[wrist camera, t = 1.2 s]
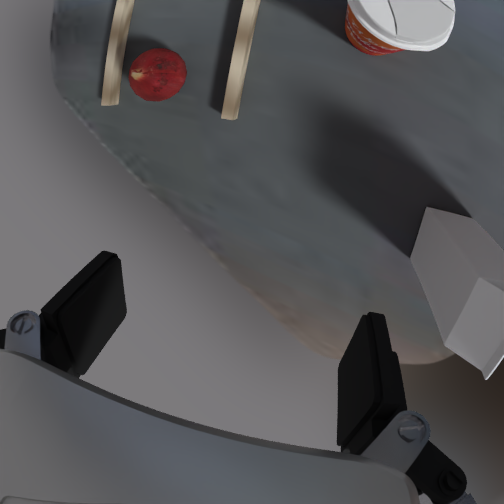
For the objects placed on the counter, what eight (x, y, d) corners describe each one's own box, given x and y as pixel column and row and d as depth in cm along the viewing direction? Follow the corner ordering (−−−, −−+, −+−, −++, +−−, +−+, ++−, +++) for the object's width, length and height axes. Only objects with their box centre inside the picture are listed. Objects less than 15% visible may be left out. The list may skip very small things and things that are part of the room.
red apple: (191, 44, 28) (157, 35, 21) (201, 91, 30) (170, 93, 24) (145, 61, 29) (105, 58, 23) (156, 105, 32) (117, 112, 25)
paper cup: (319, 17, 24) (321, -32, 12) (379, -10, 21) (414, -64, 9) (362, 78, 27) (395, 67, 15) (420, 50, 24) (482, 31, 12)
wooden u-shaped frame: (139, -48, 22) (122, -57, 18) (272, -53, 20) (267, -68, 17) (110, 103, 33) (91, 107, 29) (237, 118, 31) (227, 122, 28)
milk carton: (409, 258, 35) (454, 379, 19) (425, 205, 32) (499, 309, 15) (454, 267, 34) (512, 379, 18) (473, 217, 31) (555, 316, 14)
